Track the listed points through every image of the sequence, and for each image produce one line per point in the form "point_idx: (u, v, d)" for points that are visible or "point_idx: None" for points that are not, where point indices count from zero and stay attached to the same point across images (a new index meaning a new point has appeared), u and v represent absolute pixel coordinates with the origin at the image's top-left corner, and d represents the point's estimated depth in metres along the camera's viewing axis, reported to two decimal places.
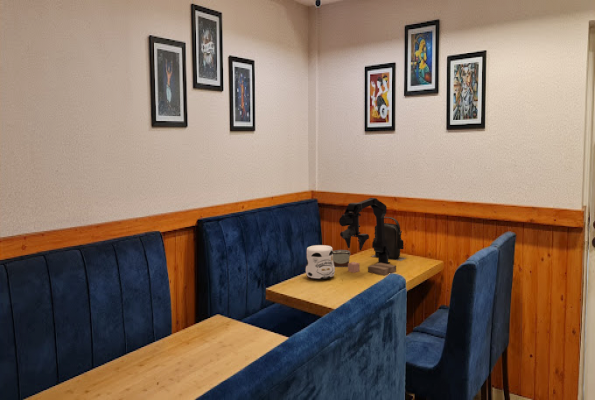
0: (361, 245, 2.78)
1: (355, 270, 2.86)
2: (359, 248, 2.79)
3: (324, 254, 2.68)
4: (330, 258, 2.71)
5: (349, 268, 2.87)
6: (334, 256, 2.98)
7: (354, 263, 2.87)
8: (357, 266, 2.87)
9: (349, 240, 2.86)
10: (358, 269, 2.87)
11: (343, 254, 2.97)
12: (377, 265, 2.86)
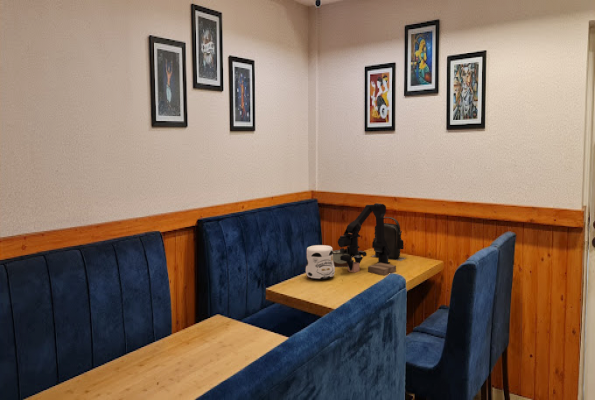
0: (349, 265, 2.85)
1: (355, 270, 2.86)
2: None
3: (324, 254, 2.68)
4: (330, 258, 2.71)
5: (349, 268, 2.87)
6: (334, 256, 2.98)
7: (354, 263, 2.87)
8: (357, 266, 2.87)
9: (357, 261, 2.89)
10: (358, 268, 2.87)
11: None
12: (377, 265, 2.86)
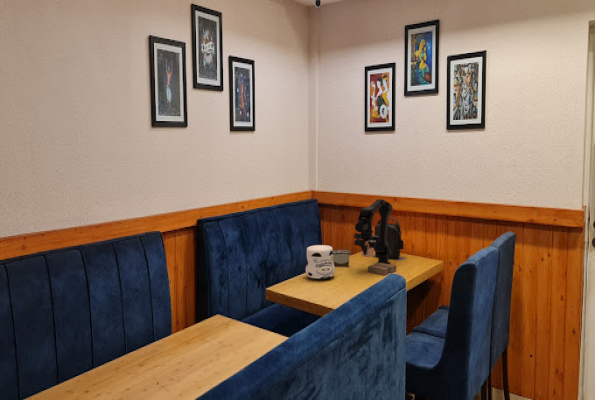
0: (363, 250, 2.83)
1: (369, 255, 2.83)
2: (363, 252, 2.84)
3: (324, 254, 2.68)
4: (330, 258, 2.71)
5: (363, 253, 2.85)
6: (334, 256, 2.98)
7: (368, 248, 2.84)
8: (371, 251, 2.84)
9: (372, 246, 2.86)
10: (372, 253, 2.84)
11: (343, 254, 2.97)
12: (377, 265, 2.86)
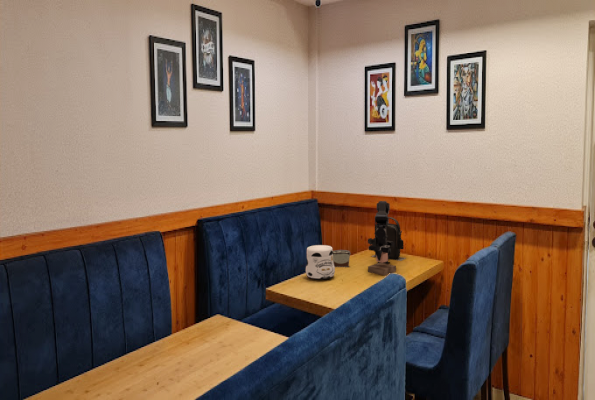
0: (377, 255, 2.81)
1: (383, 260, 2.81)
2: (378, 258, 2.83)
3: (324, 254, 2.68)
4: (330, 258, 2.71)
5: (377, 258, 2.83)
6: (334, 256, 2.98)
7: (382, 253, 2.82)
8: (385, 256, 2.82)
9: (385, 251, 2.85)
10: (386, 259, 2.83)
11: (343, 254, 2.97)
12: (377, 265, 2.86)
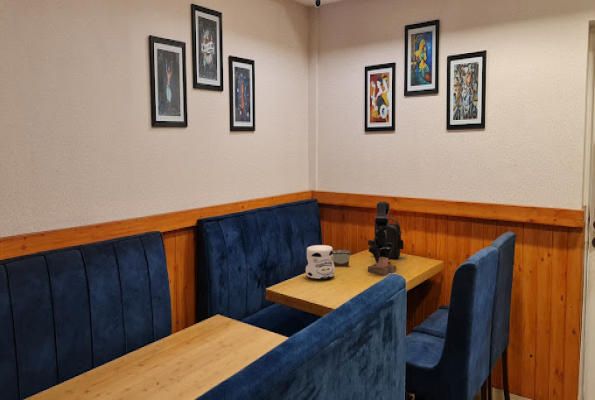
0: (375, 258, 2.80)
1: (384, 265, 2.81)
2: (376, 260, 2.81)
3: (324, 254, 2.68)
4: (330, 258, 2.71)
5: (378, 263, 2.83)
6: (334, 256, 2.98)
7: (382, 258, 2.82)
8: (386, 261, 2.82)
9: (387, 252, 2.86)
10: (386, 264, 2.83)
11: (343, 254, 2.97)
12: None
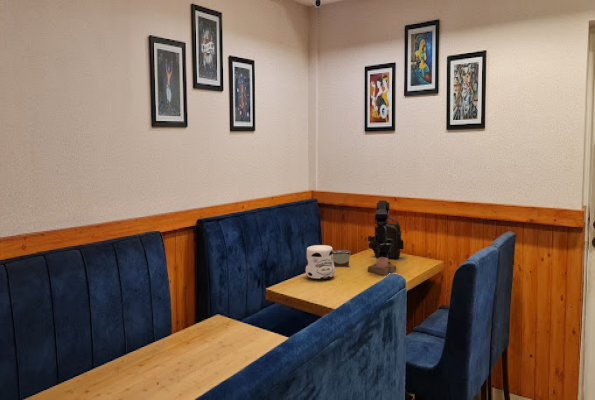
0: (375, 253, 2.79)
1: (384, 265, 2.81)
2: (376, 256, 2.81)
3: (324, 254, 2.68)
4: (330, 258, 2.71)
5: (378, 263, 2.83)
6: (334, 256, 2.98)
7: (382, 258, 2.82)
8: (386, 261, 2.82)
9: (387, 248, 2.85)
10: (386, 264, 2.83)
11: (343, 254, 2.97)
12: None
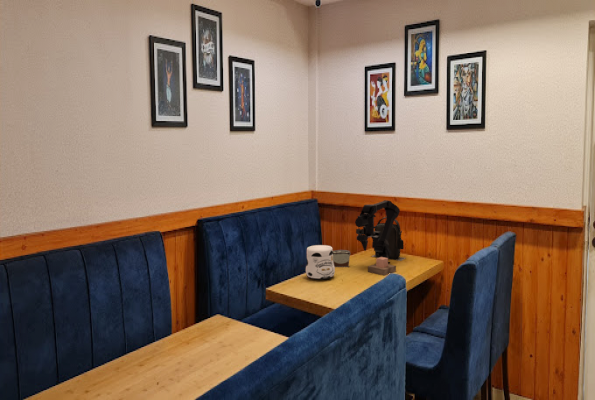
0: (363, 245, 2.89)
1: (384, 265, 2.81)
2: None
3: (324, 254, 2.68)
4: (330, 258, 2.71)
5: (377, 263, 2.83)
6: (334, 256, 2.98)
7: (382, 258, 2.82)
8: (386, 261, 2.82)
9: (375, 241, 2.95)
10: (386, 264, 2.83)
11: (343, 254, 2.97)
12: None
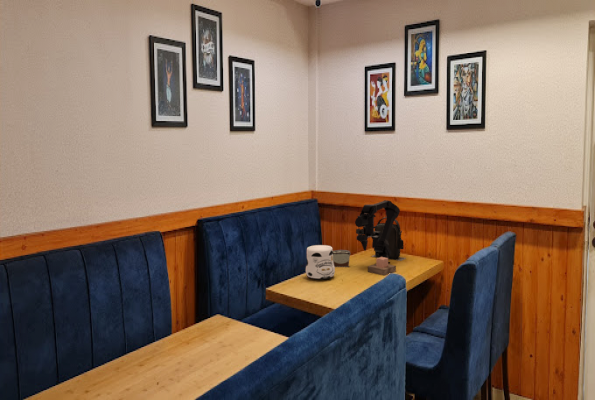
0: (363, 245, 2.89)
1: (384, 265, 2.81)
2: None
3: (324, 254, 2.68)
4: (330, 258, 2.71)
5: (378, 263, 2.83)
6: (334, 256, 2.98)
7: (382, 258, 2.82)
8: (386, 261, 2.82)
9: (375, 241, 2.95)
10: (386, 264, 2.83)
11: (343, 254, 2.97)
12: None
